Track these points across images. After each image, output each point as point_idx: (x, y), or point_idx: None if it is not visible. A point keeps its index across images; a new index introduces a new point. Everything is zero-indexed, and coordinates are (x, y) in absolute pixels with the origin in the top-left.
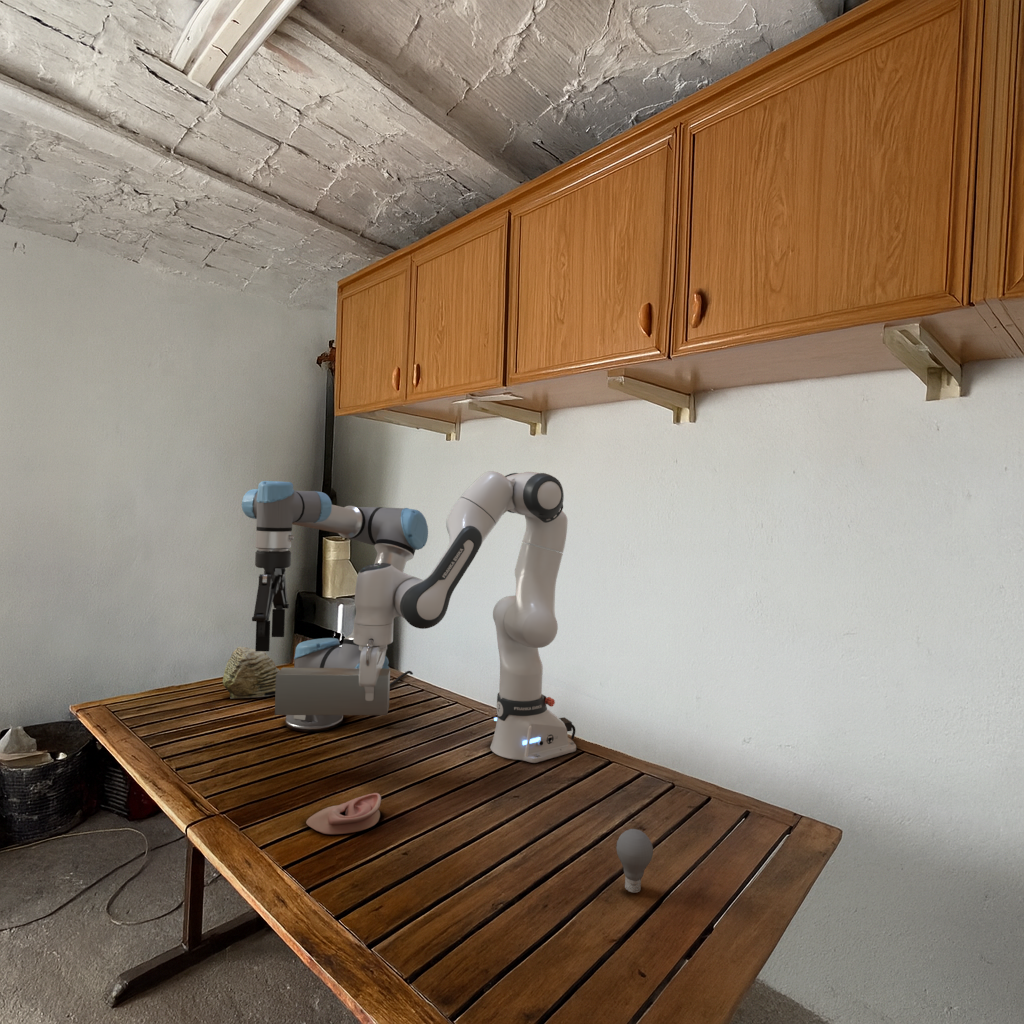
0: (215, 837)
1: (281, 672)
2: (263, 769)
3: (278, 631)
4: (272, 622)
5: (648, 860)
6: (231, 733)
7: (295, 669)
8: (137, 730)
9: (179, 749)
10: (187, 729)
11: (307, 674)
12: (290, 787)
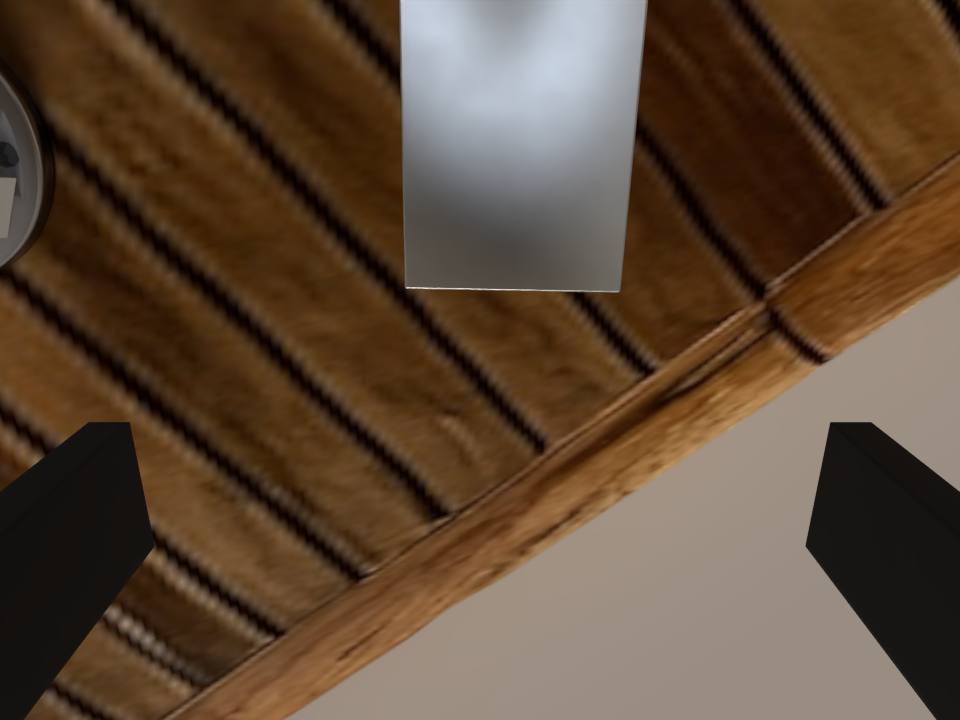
0: (913, 266)
1: (558, 262)
2: None
3: (101, 518)
4: (49, 681)
5: None
6: None
7: (460, 162)
8: (148, 715)
9: (285, 559)
10: None
11: (636, 6)
12: None
